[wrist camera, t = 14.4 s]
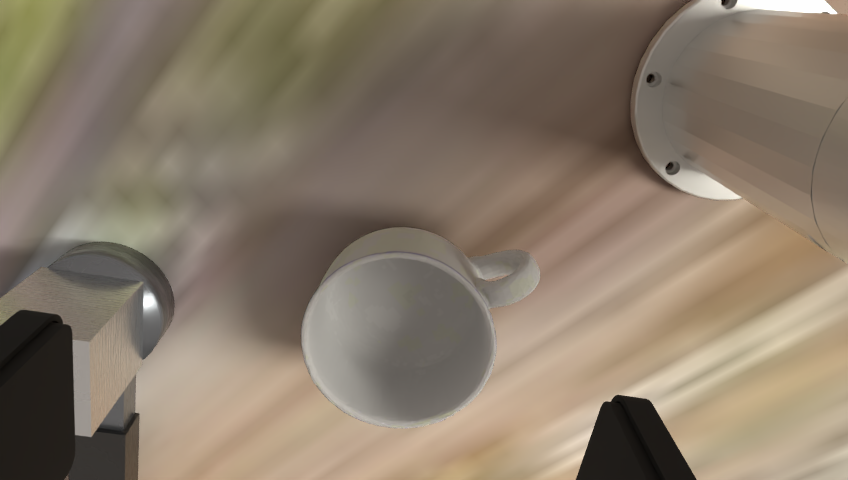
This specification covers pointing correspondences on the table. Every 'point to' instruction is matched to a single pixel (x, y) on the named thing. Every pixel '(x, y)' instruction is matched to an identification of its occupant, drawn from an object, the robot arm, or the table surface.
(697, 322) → the table surface
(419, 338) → the teacup
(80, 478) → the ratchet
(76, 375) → the wood-topped grey cube
